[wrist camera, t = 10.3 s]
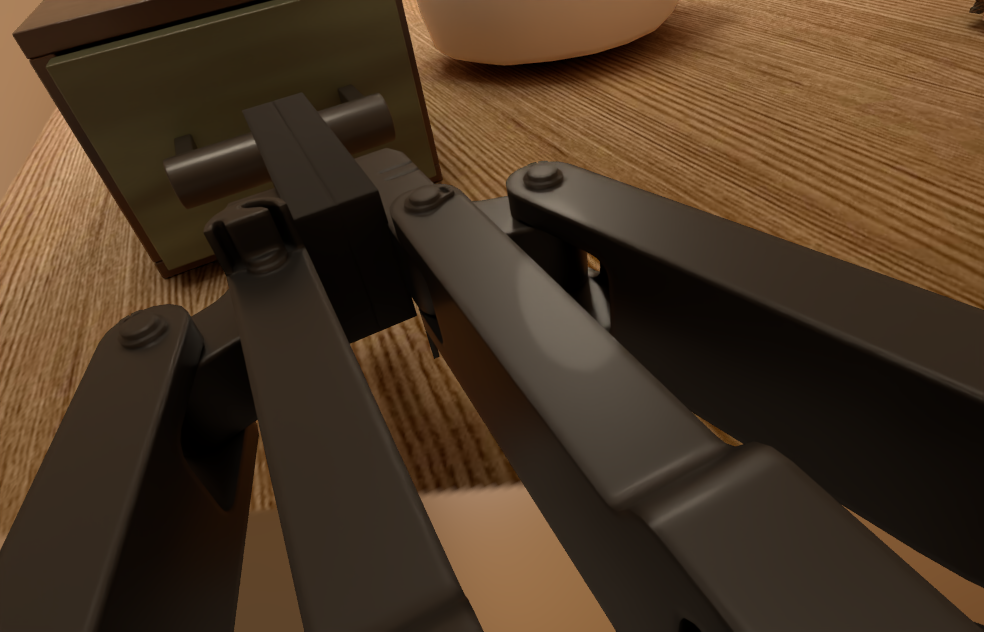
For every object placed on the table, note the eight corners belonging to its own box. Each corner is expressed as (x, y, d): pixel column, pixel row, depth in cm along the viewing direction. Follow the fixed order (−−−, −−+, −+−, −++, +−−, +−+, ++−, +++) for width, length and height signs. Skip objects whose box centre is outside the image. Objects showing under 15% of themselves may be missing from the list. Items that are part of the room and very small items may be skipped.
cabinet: (443, 179, 28) (388, -61, 22) (163, 279, 25) (11, 33, 19) (360, 98, 39) (308, -78, 33) (158, 161, 36) (60, -20, 30)
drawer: (477, 216, 23) (433, -9, 18) (172, 332, 20) (22, 103, 15) (357, 96, 36) (312, -53, 31) (162, 157, 34) (80, 4, 29)
